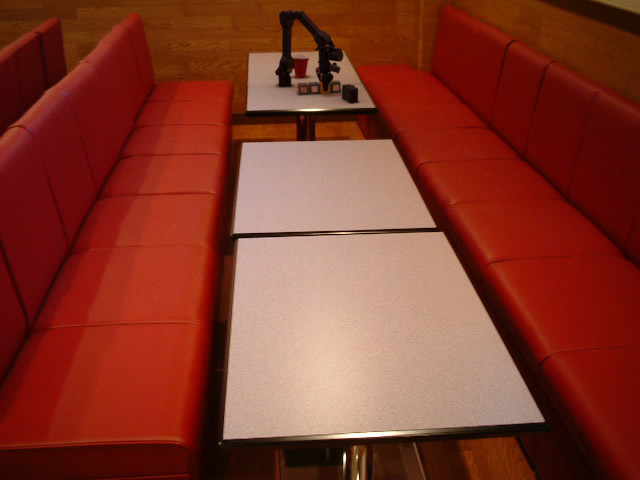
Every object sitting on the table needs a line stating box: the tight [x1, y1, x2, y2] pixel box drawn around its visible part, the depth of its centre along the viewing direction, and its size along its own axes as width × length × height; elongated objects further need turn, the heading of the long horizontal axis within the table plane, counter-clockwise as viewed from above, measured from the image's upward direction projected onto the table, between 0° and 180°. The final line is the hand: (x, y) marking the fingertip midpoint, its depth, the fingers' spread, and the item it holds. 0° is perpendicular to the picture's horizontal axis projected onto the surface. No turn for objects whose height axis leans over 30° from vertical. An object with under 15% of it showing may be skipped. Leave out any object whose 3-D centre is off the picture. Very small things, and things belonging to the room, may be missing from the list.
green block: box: [330, 79, 342, 94], centre depth 338 cm, size 5×5×5 cm
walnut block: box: [296, 82, 309, 96], centre depth 335 cm, size 5×5×5 cm
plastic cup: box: [291, 54, 310, 79], centre depth 365 cm, size 11×11×12 cm
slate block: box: [307, 81, 320, 95], centre depth 336 cm, size 5×5×5 cm
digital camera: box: [341, 83, 359, 104], centre depth 321 cm, size 10×5×7 cm, turn 23°
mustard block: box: [318, 81, 331, 94], centre depth 337 cm, size 5×5×5 cm
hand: (324, 89), depth 337 cm, fingers open, 9 cm apart
